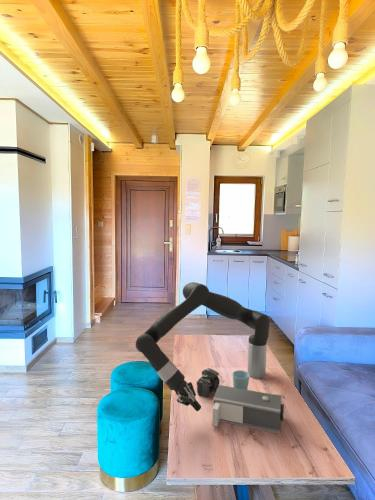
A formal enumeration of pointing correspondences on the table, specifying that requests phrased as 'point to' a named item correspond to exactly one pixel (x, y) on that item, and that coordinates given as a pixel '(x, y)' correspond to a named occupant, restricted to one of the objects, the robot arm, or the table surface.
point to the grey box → (253, 408)
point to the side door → (227, 413)
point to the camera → (207, 382)
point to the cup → (240, 379)
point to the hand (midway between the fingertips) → (199, 409)
